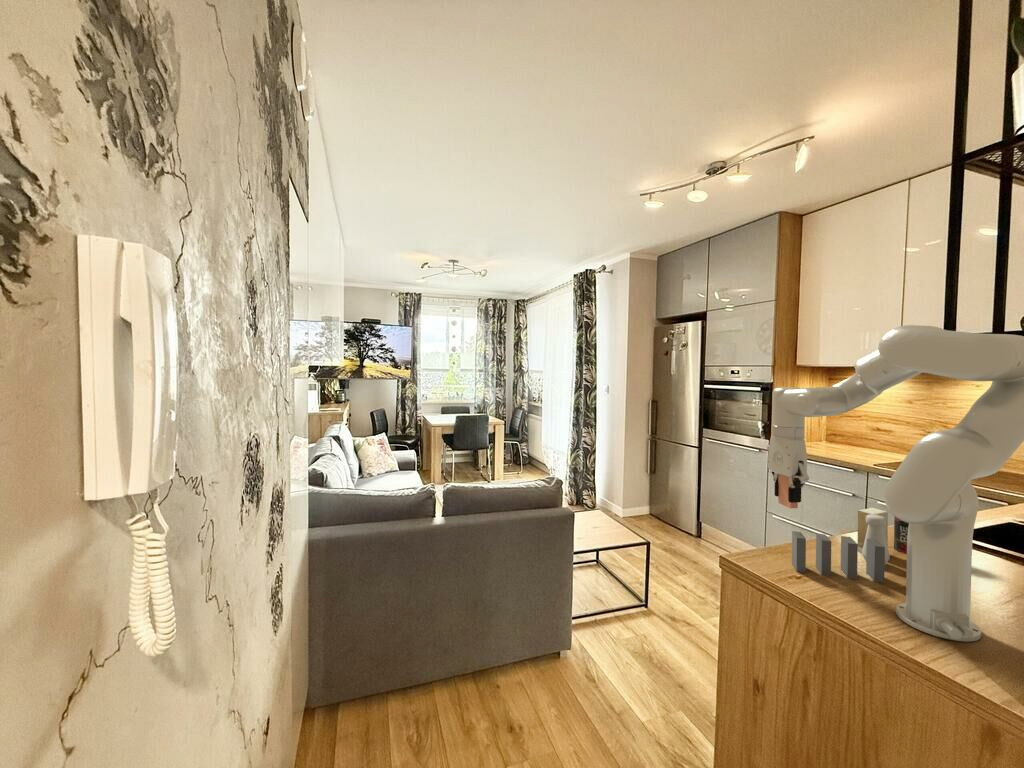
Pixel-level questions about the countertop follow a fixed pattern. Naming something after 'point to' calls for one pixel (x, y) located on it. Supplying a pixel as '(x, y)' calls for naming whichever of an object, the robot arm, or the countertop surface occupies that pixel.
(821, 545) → the tile
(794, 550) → the tile
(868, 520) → the salt shaker
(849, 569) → the tile
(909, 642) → the countertop surface
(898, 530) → the deodorant
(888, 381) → the robot arm
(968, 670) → the countertop surface
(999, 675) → the countertop surface
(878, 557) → the tile
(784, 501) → the head tile
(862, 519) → the skincare box
